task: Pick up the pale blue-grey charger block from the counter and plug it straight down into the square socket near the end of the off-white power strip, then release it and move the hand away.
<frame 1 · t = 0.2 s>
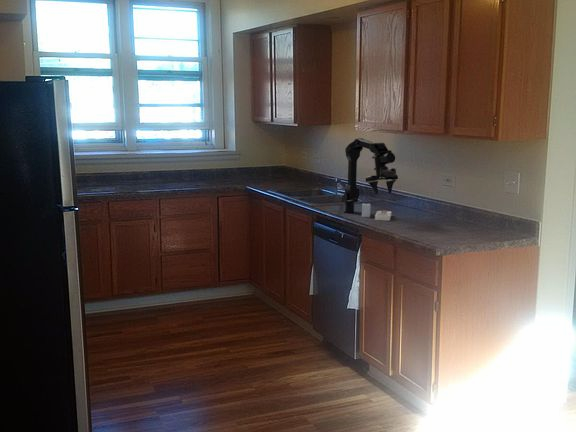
hand: (383, 193, 354), 15 cm above the worktop, tool pointing down, fingers open, 9 cm apart
power strip: (383, 217, 366), on the worktop
charger: (365, 216, 371), on the worktop
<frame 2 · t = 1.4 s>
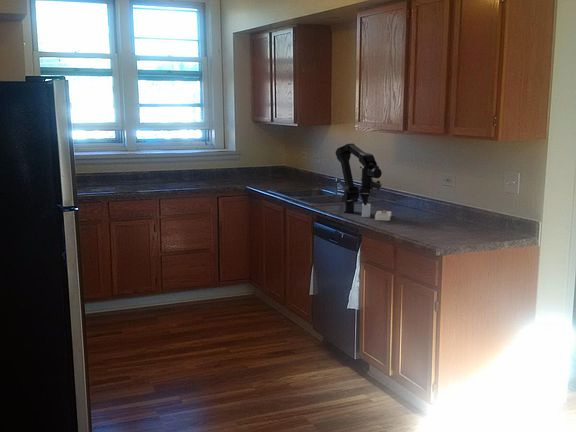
hand: (366, 203, 370), 7 cm above the worktop, tool pointing down, fingers open, 9 cm apart
nothing on the worktop moved.
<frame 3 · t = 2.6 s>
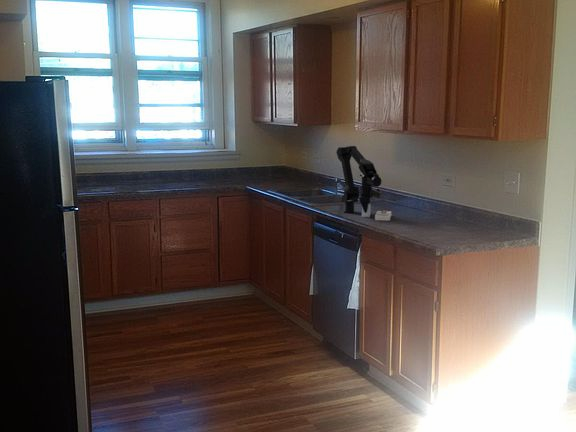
hand: (366, 211, 370), 3 cm above the worktop, tool pointing down, fingers closed on charger, 4 cm apart
charger: (365, 216, 371), on the worktop, touching gripper
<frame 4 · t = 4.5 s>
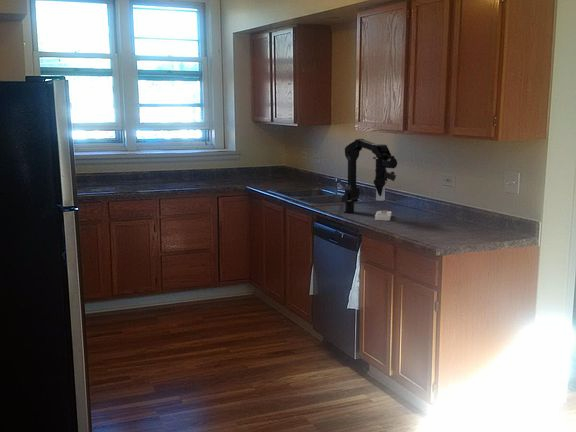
hand: (380, 195, 361), 13 cm above the worktop, tool pointing down, fingers closed on charger, 4 cm apart
charger: (380, 199, 361), point 11 cm above the worktop, touching gripper
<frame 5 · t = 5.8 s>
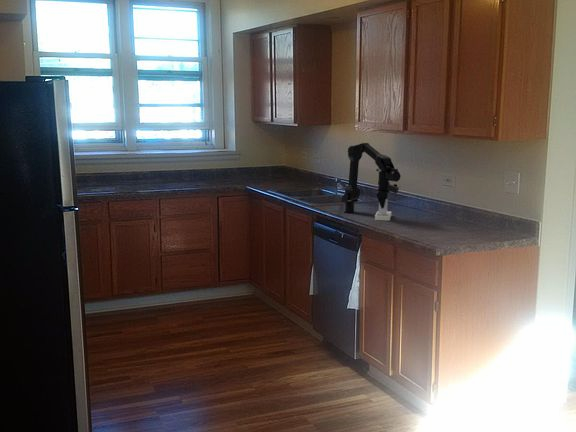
hand: (382, 207, 361), 6 cm above the worktop, tool pointing down, fingers closed on charger, 4 cm apart
charger: (382, 212, 361), point 4 cm above the worktop, touching gripper
when the fingers open (4 cm above the worktop, at t = 6.6 s): charger drops 2 cm, resting in power strip.
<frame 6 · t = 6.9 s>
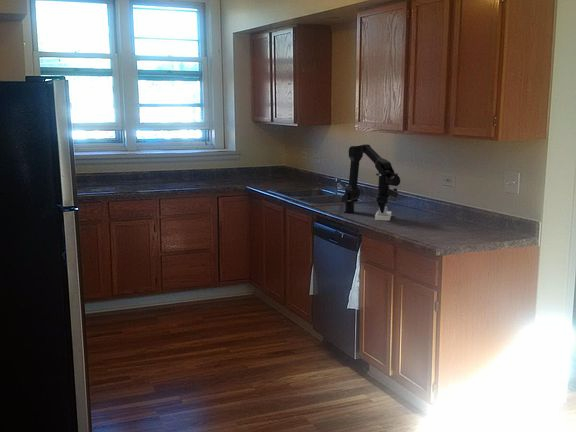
hand: (382, 212, 361), 4 cm above the worktop, tool pointing down, fingers open, 7 cm apart
charger: (382, 219, 362), resting in power strip
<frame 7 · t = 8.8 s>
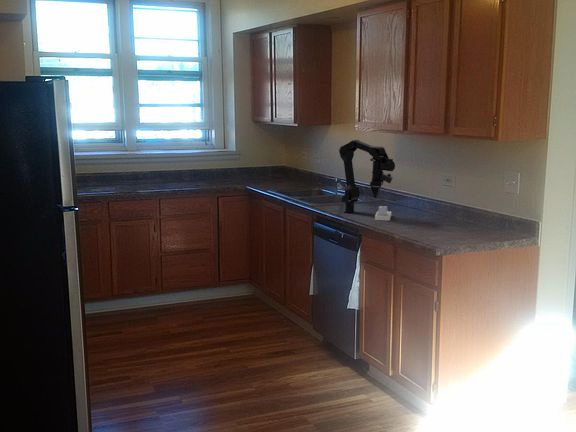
hand: (376, 196, 368), 11 cm above the worktop, tool pointing down, fingers open, 9 cm apart
nothing on the worktop moved.
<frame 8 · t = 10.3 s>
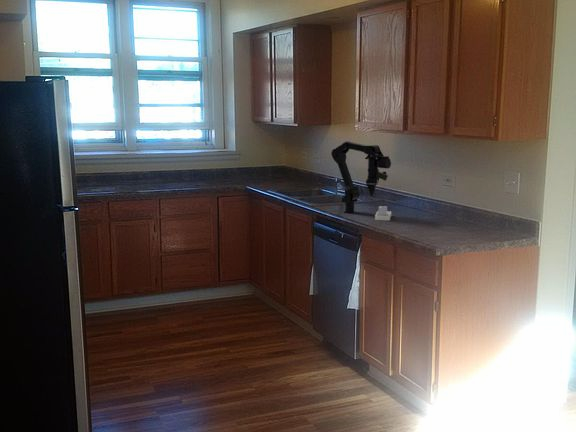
hand: (372, 194, 373), 12 cm above the worktop, tool pointing down, fingers open, 9 cm apart
nothing on the worktop moved.
at the end: charger 0.1 cm from the target spot on the power strip, point 0.0 cm above the power strip's base; charger tilted 0°; the gripper is holding nothing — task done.
